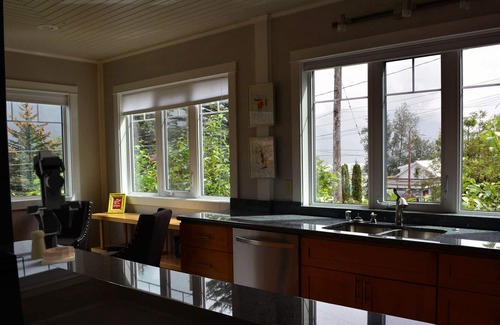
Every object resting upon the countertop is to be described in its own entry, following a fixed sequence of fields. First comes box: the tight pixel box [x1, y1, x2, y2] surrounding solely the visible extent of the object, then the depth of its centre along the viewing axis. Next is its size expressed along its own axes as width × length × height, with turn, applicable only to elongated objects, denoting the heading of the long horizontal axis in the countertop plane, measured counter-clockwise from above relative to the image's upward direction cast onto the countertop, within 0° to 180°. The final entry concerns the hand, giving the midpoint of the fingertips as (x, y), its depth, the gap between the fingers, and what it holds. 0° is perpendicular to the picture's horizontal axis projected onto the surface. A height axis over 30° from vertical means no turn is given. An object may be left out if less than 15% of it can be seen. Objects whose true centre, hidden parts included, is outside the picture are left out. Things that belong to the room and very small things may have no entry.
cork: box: [29, 229, 46, 261], centre depth 172 cm, size 6×6×11 cm
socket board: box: [41, 245, 76, 266], centre depth 164 cm, size 11×11×4 cm
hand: (56, 229), depth 164 cm, fingers open, 9 cm apart
